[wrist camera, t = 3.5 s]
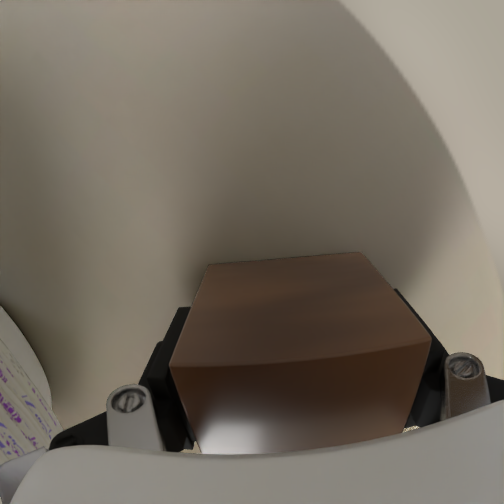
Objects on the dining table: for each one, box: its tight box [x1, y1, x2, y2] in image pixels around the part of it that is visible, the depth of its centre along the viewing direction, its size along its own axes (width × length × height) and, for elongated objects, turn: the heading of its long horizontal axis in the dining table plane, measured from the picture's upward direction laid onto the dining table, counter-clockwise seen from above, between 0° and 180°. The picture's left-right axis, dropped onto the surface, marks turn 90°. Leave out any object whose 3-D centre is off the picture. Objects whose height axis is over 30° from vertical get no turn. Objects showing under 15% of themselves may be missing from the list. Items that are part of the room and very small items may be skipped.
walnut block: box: [169, 252, 432, 454], centre depth 9 cm, size 6×6×6 cm
